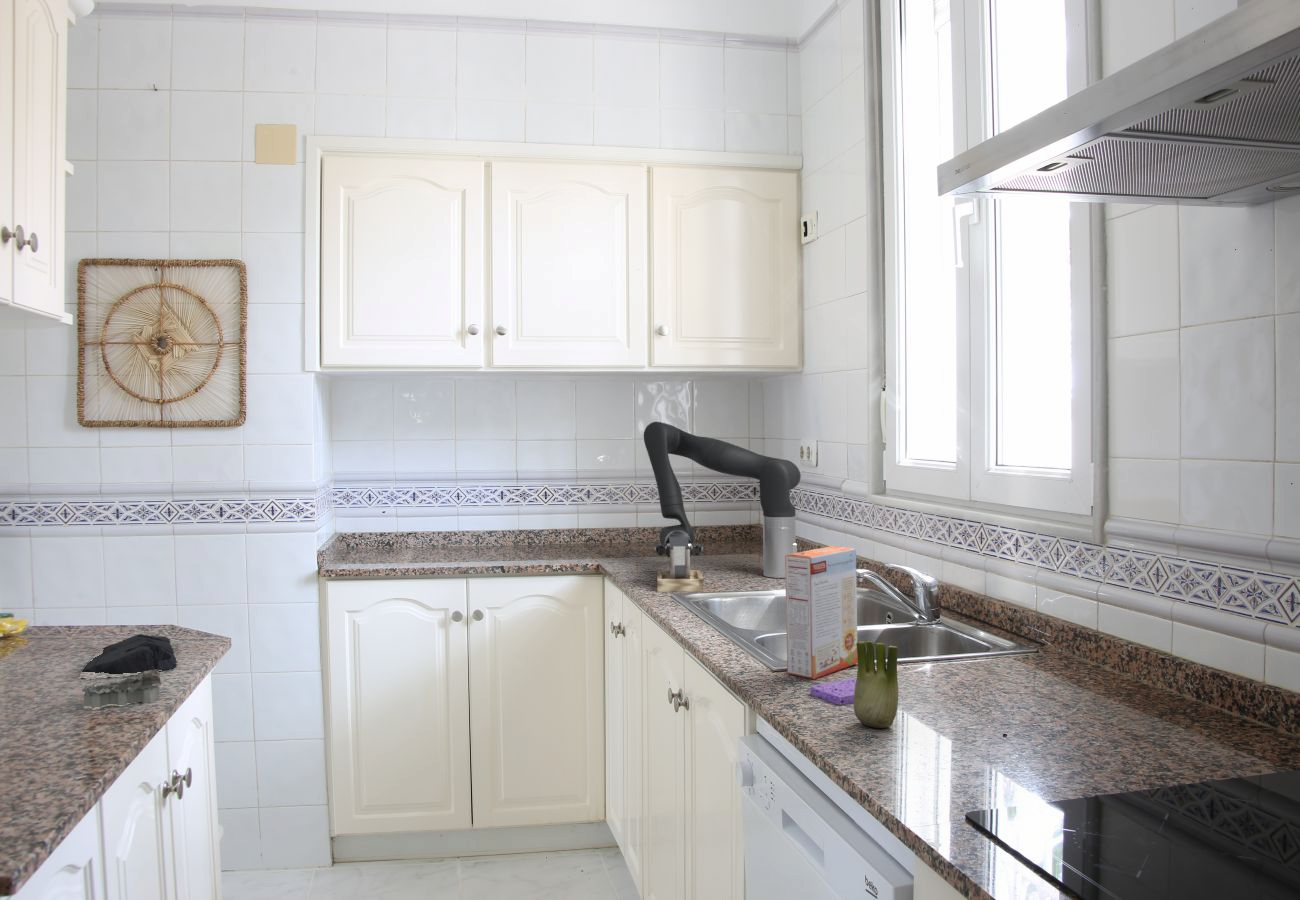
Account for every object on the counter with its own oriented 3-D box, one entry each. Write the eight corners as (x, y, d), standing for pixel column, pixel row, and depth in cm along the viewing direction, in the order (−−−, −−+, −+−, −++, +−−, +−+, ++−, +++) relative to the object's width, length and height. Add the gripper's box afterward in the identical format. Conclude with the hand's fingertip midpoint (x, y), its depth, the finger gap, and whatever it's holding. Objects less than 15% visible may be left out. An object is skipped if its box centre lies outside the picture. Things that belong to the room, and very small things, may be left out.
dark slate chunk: (182, 647, 178) (181, 623, 178) (176, 674, 158) (175, 647, 158) (92, 656, 171) (91, 631, 171) (74, 685, 152) (73, 657, 151)
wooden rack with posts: (700, 580, 249) (700, 543, 249) (703, 591, 233) (703, 551, 233) (657, 581, 249) (657, 543, 249) (657, 591, 233) (657, 551, 233)
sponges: (809, 697, 142) (809, 685, 142) (867, 685, 149) (867, 673, 149) (840, 709, 136) (840, 696, 136) (899, 695, 143) (899, 683, 143)
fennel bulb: (902, 728, 125) (902, 643, 125) (876, 735, 123) (876, 648, 123) (872, 717, 130) (872, 635, 130) (847, 723, 128) (847, 639, 128)
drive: (687, 573, 245) (687, 533, 244) (688, 578, 237) (688, 537, 237) (669, 573, 245) (669, 533, 244) (669, 578, 238) (669, 537, 237)
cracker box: (830, 658, 164) (830, 545, 163) (859, 664, 159) (858, 547, 159) (783, 673, 154) (783, 552, 153) (813, 680, 150) (812, 556, 149)
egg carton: (163, 692, 147) (162, 667, 146) (159, 705, 140) (159, 679, 140) (86, 700, 142) (86, 674, 142) (79, 714, 135) (78, 687, 135)
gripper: (652, 531, 255) (652, 539, 238) (703, 531, 255) (706, 539, 238) (652, 557, 255) (652, 567, 238) (703, 557, 255) (706, 567, 238)
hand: (679, 553), depth 238 cm, fingers closed on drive, 5 cm apart
